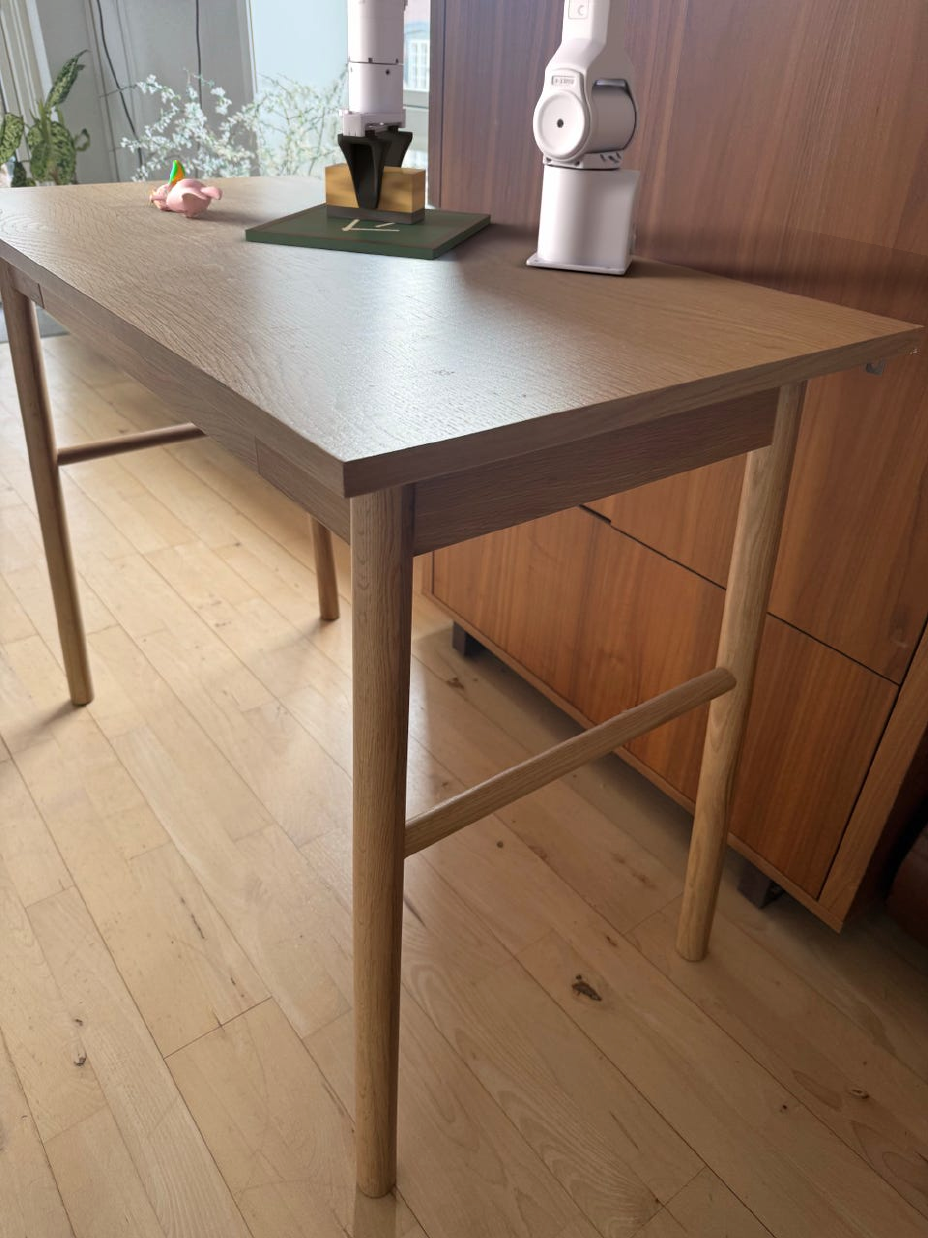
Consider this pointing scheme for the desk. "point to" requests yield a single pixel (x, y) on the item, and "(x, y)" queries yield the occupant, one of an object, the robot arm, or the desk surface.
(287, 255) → the desk surface
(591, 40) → the robot arm
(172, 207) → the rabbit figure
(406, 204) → the eraser
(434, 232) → the chalkboard
